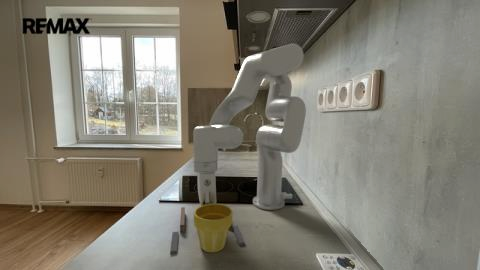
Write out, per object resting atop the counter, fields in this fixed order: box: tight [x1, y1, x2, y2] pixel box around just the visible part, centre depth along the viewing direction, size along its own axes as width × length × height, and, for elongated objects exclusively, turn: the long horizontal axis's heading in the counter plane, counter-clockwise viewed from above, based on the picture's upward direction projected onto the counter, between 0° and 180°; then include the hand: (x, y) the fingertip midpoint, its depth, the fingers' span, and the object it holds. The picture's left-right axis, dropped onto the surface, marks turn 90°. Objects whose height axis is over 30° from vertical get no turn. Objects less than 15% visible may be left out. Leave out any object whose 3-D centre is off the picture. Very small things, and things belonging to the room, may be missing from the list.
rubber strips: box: [169, 225, 246, 255], centre depth 62 cm, size 20×9×1 cm, turn 103°
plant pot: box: [193, 203, 234, 253], centre depth 59 cm, size 10×10×10 cm
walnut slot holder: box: [179, 203, 232, 234], centre depth 73 cm, size 15×12×2 cm
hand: (205, 221), depth 70 cm, fingers closed
